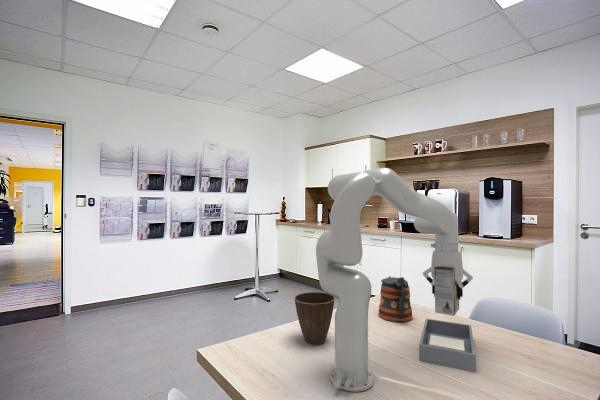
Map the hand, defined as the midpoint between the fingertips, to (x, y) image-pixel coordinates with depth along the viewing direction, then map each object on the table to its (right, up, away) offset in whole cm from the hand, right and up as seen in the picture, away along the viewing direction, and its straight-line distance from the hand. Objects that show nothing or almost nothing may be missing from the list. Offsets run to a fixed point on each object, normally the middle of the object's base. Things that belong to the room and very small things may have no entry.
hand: (447, 296), depth 111 cm
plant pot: (-47, -18, +5) cm, 51 cm away
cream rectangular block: (-5, -17, -10) cm, 20 cm away
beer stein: (-9, -18, +28) cm, 34 cm away
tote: (-2, -18, -4) cm, 18 cm away
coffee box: (0, -5, 0) cm, 5 cm away
